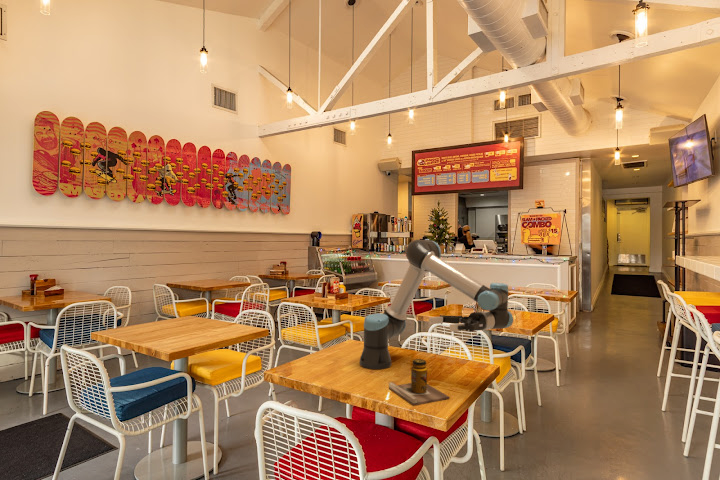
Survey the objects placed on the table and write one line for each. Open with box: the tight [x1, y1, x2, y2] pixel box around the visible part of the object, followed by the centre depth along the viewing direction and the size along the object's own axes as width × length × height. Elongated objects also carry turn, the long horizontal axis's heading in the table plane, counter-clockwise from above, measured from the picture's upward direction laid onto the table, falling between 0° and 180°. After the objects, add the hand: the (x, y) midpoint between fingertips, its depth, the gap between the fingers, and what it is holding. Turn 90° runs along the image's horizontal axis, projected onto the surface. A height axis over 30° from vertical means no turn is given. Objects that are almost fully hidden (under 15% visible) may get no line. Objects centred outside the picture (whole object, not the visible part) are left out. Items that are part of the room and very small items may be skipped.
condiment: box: [404, 358, 430, 395], centre depth 154 cm, size 7×8×12 cm
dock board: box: [388, 381, 450, 406], centre depth 154 cm, size 16×18×2 cm
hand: (439, 324), depth 158 cm, fingers open, 13 cm apart
